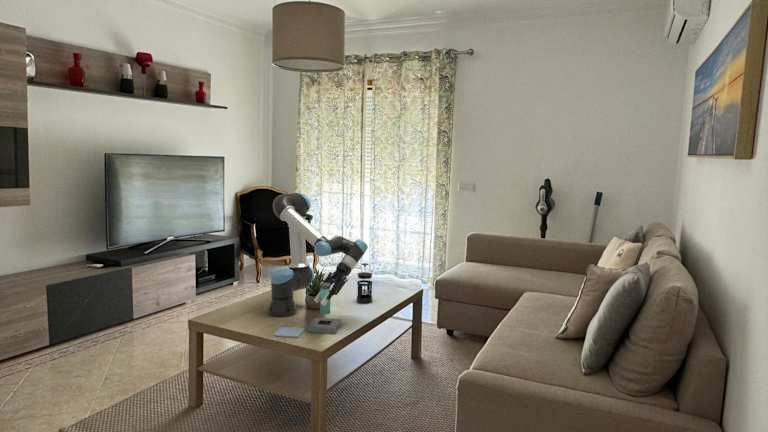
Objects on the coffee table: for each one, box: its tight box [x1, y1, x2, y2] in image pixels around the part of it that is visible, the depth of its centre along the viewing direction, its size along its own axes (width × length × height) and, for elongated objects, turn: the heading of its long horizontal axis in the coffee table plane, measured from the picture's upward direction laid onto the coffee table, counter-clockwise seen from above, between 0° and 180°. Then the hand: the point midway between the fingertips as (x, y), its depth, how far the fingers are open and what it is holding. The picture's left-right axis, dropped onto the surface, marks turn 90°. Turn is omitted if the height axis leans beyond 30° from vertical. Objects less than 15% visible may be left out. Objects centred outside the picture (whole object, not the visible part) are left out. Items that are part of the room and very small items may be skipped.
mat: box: [273, 326, 306, 339], centre depth 259 cm, size 12×12×1 cm
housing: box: [306, 317, 343, 335], centre depth 266 cm, size 14×14×3 cm
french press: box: [356, 262, 373, 305], centre depth 314 cm, size 12×9×23 cm
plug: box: [319, 281, 332, 316], centre depth 265 cm, size 5×5×15 cm
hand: (319, 302), depth 262 cm, fingers closed on plug, 5 cm apart
